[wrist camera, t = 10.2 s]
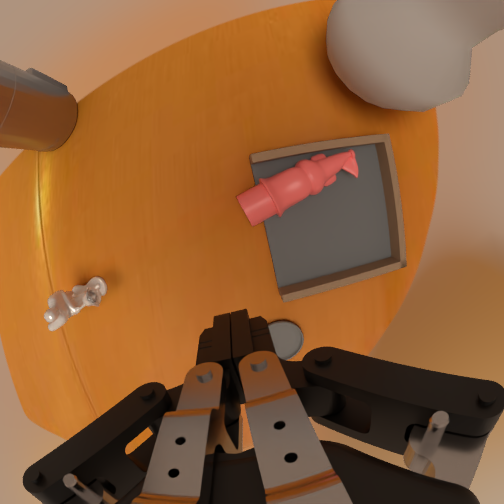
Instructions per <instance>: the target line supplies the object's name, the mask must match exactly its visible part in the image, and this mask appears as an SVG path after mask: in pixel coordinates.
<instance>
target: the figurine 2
mask: <svg viewBox="0 0 504 504" xmlns="http://www.w3.org/2000/svg"><path fill="white" fill-rule="evenodd" d="M341 169H343V170H345V171H347V172H349V173H351V174H352V175H354V177H356V178H358V165H357V162H356V159H355V152H354V151H353V150H352V149H350V150H348V152H342V153H338V154H335V155H332V156H329V157H326V156H325V155H324V154H317V155H315V156H312V157H311V159H310V160H307V159H304V160H300V161H298V162H297V163H296V165H295V167H292V168H289V169H287V170H284V171H282V172H280V173H278V174H276V175H274V176H272V177H269V178H260V179H259V182H260V184H258V185H256V186H254V187H253V188H251V189H249V190H247V191H245V192H243V193H242V194H240V195H238V196H236V198H237V199H238V201H239V203H240V205H241V207H242V208H243V210H244V212H245V214H246V216H247V217H248V219H249V221H250V223H251V225H252V226H255V225H257V224H259V223H261V222H262V221H264V220H266V219H268V218H270V217H272V216H273V215H275V214H277V215H278V216H279V217H281V216H282V214H283V213H284V211H285V210H286V209H288V208H289V207H291V206H293V205H295V204H297V203H298V202H300V201H302V200H303V199H305V198H306V197H308V196H309V195H316V194H318V193H320V192H321V191H322V189H323V187H324V186H329V185H331V184H332V183H333V182H335V181H336V173H338V172H339V171H340V170H341Z"/></svg>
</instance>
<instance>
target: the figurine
mask: <svg viewBox="0 0 504 504" xmlns="http://www.w3.org/2000/svg"><path fill="white" fill-rule="evenodd" d="M106 293H107V285H106V282H105V281H104V280H103V279H102V278H101V277H98V276H96V277H93V278H91V279H90V281H88V283H87V284H86V285H83V286H82V285H76V286H74V288H73V289H72V291H66V292H64V291H63V290H59V291H56V292H55V293H53V294H52V295H50V297H49V298H48V305H49V308H50V309H48V310H47V311H46V312H45V314H44V318H45V320H46V321H47V322H49V325H48V329H49V330H50V331H55V330H56V329H58V328H60V327H61V326H63V325H64V324H65V323H66V322H67V320H68V318H70V317H71V316H73V315H74V314H78V313H79V312H80V310H81V309H82V308H83V307H84V306H92V305H94V306H100V305H99V304H100V302H101V295H102V296H103V295H105V294H106Z"/></svg>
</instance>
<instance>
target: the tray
mask: <svg viewBox="0 0 504 504" xmlns="http://www.w3.org/2000/svg"><path fill="white" fill-rule="evenodd" d="M350 149H352V150H353V151H354V152H355V159H356V162H357V165H358V178H356V177H354V175H352V174H351V173H349V172H347V171H345V170H343V169H341V170H340V171H339V172H338V173H336V181H335V182H333V183H332V184H331V185H329V186H324V187H323V189H322V191H321V192H320V193H318V194H316V195H309V196H308V197H306V198H305V199H303V200H302V201H300V202H298V203H297V204H295V205H293V206H291V207H289V208H288V209H286V210H285V211H284V213H283V214H282V216H281V217H279V216H278V215H277V214H275V215H273V216H272V217H270V218H268V219H266V220H264V224H265V229H266V233H267V238H268V242H269V247H270V252H271V256H272V261H273V265H274V270H275V275H276V279H277V284H278V289H279V293H280V296H281V298H282V300H283V302H288V301H292V300H295V299H299V298H303V297H307V296H310V295H314V294H318V293H321V292H325V291H328V290H332V289H335V288H339V287H342V286H346V285H349V284H352V283H356V282H359V281H362V280H366V279H369V278H372V277H375V276H378V275H382V274H385V273H388V272H391V271H394V270H397V269H400V268H403V267H406V266H407V265H406V246H405V233H404V223H403V213H402V205H401V197H400V190H399V183H398V177H397V171H396V166H395V160H394V155H393V150H392V145H391V141H390V136H389V134H380V135H369V136H360V137H351V138H343V139H335V140H328V141H321V142H315V143H308V144H302V145H296V146H290V147H285V148H280V149H274V150H269V151H264V152H259V153H254V154H251V155H250V156H249V159H250V163H251V168H252V172H253V176H254V180H255V185H258V184H260V182H259V179H260V178H269V177H272V176H274V175H276V174H278V173H280V172H282V171H284V170H287V169H289V168H292V167H295V165H296V163H297V162H298V161H300V160H304V159H307V160H310V159H311V157H312V156H315V155H317V154H324V155H325V156H326V157H329V156H332V155H335V154H338V153H342V152H348V150H350Z"/></svg>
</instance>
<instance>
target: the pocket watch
mask: <svg viewBox="0 0 504 504" xmlns="http://www.w3.org/2000/svg"><path fill="white" fill-rule="evenodd" d="M268 327H269V330H270V334H271V337H272V341H273V344H274V348H275V351H276V354H277V355H278V357H280V358H281V359H283V360H288V359H290V358H292V357H294V356H295V355H296V354H297V353H298V352H299V351H300V349H301V348H302V345H303V341H304V338H303V334H302V332H301V330H300V328H299V327H298V326H297V325H295V324H293V323H292V322H288V321H277V322H273V323H271V324H269V325H268Z"/></svg>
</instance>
